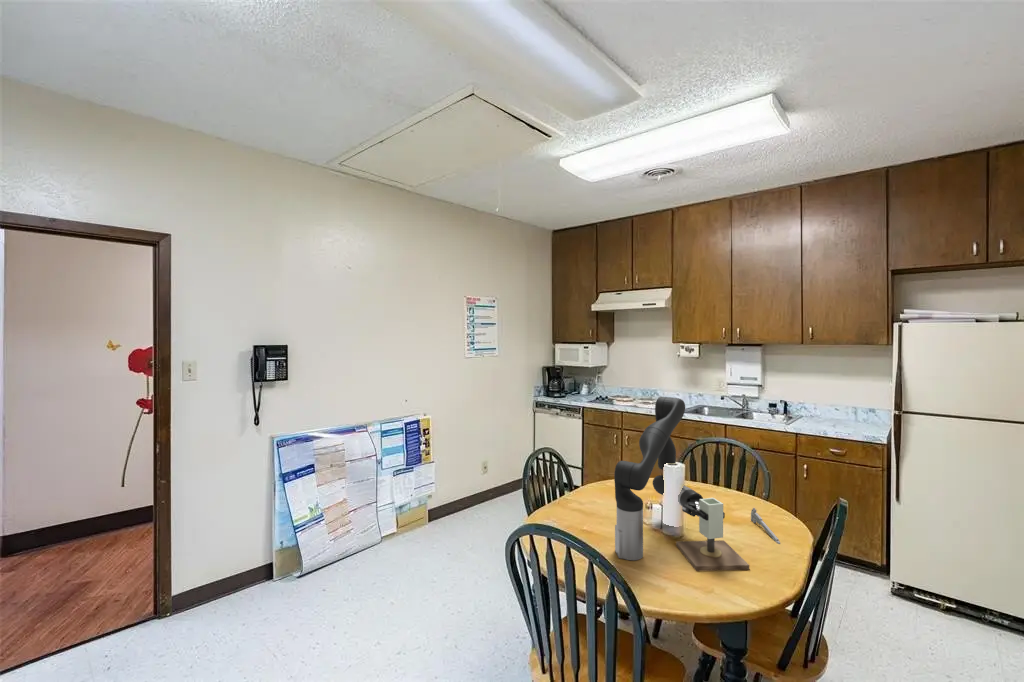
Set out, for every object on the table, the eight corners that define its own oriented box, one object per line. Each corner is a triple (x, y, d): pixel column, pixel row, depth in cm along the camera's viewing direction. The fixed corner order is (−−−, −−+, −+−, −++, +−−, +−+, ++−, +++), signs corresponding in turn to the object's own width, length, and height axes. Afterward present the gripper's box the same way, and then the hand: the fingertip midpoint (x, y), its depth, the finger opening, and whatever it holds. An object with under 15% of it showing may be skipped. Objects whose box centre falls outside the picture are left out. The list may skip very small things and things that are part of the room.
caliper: (750, 521, 197) (750, 506, 197) (753, 521, 197) (753, 506, 196) (777, 544, 176) (778, 528, 176) (780, 544, 176) (781, 528, 176)
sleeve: (708, 539, 164) (708, 505, 163) (699, 532, 169) (699, 499, 169) (723, 537, 165) (723, 503, 164) (713, 530, 170) (713, 497, 170)
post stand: (696, 570, 158) (696, 537, 157) (676, 545, 176) (676, 515, 175) (749, 569, 158) (749, 536, 158) (723, 544, 176) (724, 514, 176)
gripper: (671, 490, 179) (697, 508, 162) (705, 487, 182) (734, 504, 165) (671, 510, 179) (697, 529, 163) (705, 506, 182) (734, 525, 166)
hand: (715, 516), depth 164 cm, fingers closed on sleeve, 5 cm apart
